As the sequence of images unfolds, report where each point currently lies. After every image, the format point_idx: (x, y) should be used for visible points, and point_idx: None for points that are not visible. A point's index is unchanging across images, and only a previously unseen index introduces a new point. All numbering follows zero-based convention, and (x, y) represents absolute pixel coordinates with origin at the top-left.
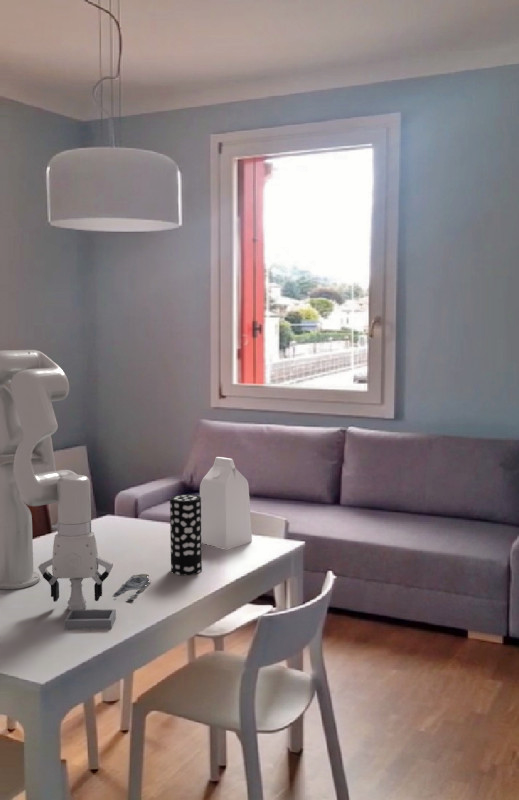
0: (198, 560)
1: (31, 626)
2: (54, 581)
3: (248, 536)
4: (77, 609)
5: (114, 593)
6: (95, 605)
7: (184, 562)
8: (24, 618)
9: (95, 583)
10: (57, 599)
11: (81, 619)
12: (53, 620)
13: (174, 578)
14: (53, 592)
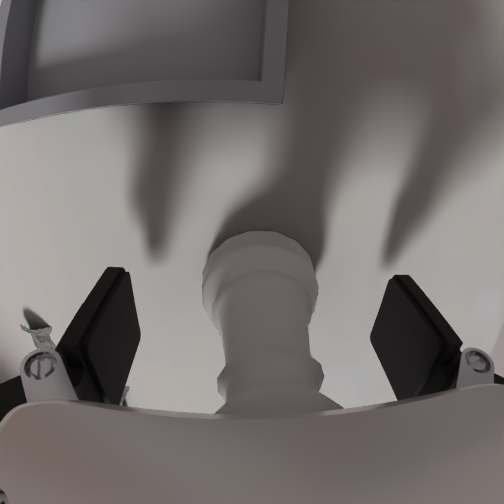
0: None
1: (461, 44)
2: (465, 372)
3: None
4: (248, 231)
5: (122, 400)
6: (163, 307)
7: None
8: (493, 163)
9: (98, 381)
10: (383, 301)
11: (196, 64)
12: (376, 93)
13: None
14: (434, 307)
